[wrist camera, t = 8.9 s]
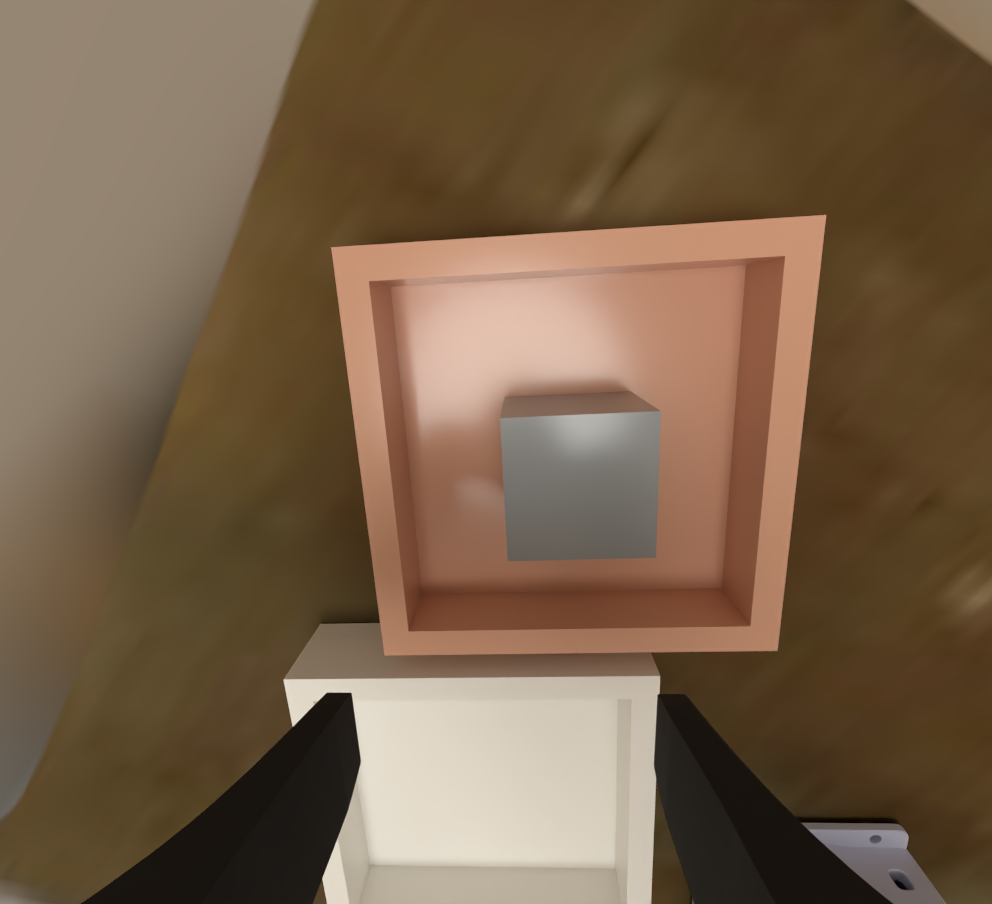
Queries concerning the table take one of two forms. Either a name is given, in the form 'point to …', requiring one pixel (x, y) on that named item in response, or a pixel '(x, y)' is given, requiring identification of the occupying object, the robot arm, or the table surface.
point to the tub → (489, 773)
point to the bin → (571, 370)
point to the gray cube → (580, 476)
